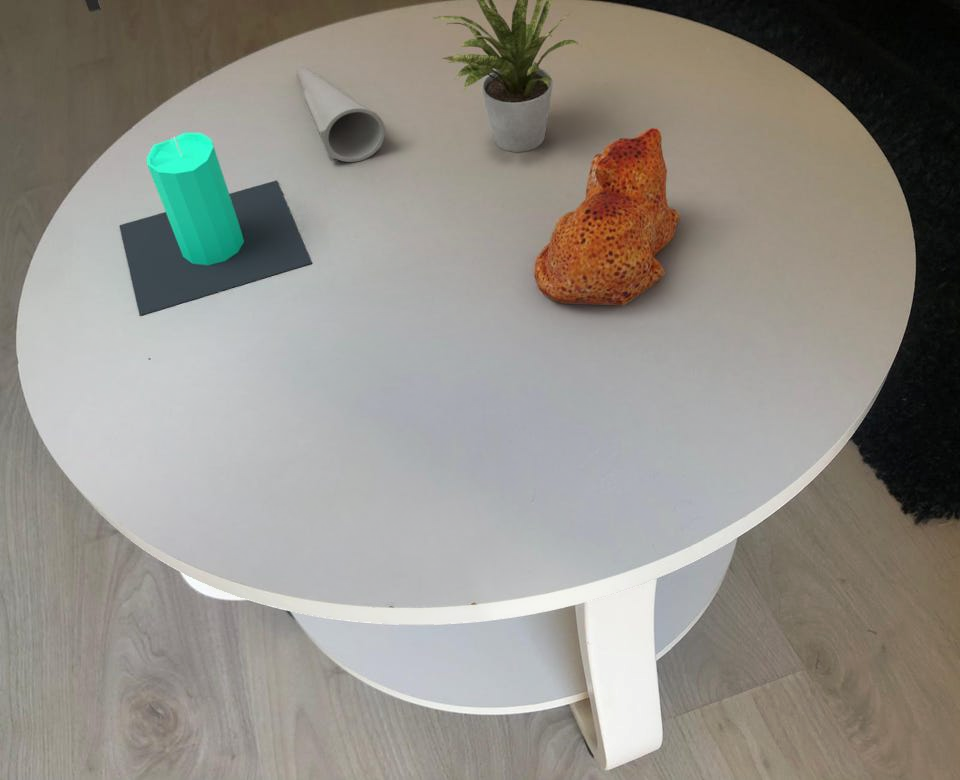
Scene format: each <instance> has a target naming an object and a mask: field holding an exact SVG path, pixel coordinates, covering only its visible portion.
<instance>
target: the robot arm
mask: <svg viewBox="0 0 960 780" xmlns="http://www.w3.org/2000/svg"><path fill="white" fill-rule="evenodd" d="M84 1H85V3H86V6H87V9H88V11H89V13H95V12H97V11H98V12H99V11H101V10H102V7H101V5H100V0H84Z"/></svg>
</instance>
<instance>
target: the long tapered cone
mask: <svg viewBox="0 0 960 780" xmlns="http://www.w3.org/2000/svg"><path fill="white" fill-rule="evenodd" d="M296 77H297V80H298V81H299V83H300V86H301V88H302V92H303V95H304V100H305V102H306V104H307V106H308V108H309V111H310V114H311V115H312V118H313V122H314V123H315V126H316V129H317V131H318V134H319V136H320V139H321V141H322V144H323V146H324V148H325V151H326V154H327V156H328V158H329V160H330V161H333V160H338V161H341V162H347V163H356V162H361V161H364V160H366V159H368V158H370V157H372V156H373V155H374V154H375V153H377V152H378V150H379V149H380V148H381V147H382V145H383V143H384V141H385V137H386V126H385V123H384V121H383V119H382V118H381V117H380V115H378V113H376V112H375V111H374V110H372V109H370V108H369V107H367V106H366V105H364V104H363V103H361V102H359V101H358V100H356V99H355V98H354V97H352V96H350V95H349V94H348V93H346V92H345V91H343V90H342V89H341V88H339V87H338V86H336V85H334V84H332V83H331V82H330V81H329V80H327V79H326V78H324V77H322V76H321V75H319V74H318V73H316V72H315V71H313V70H311V69H310V68H308V67H307V66H304V65H300V66H298V67H297V69H296Z"/></svg>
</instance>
